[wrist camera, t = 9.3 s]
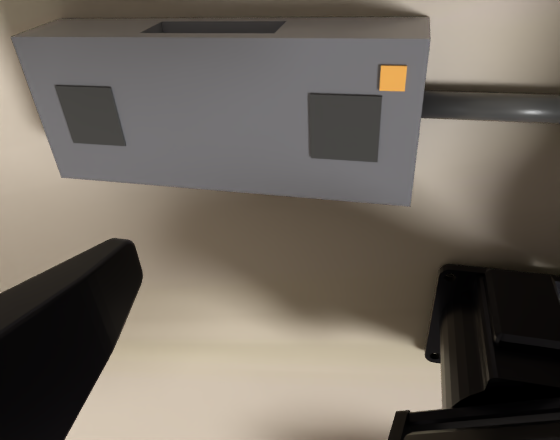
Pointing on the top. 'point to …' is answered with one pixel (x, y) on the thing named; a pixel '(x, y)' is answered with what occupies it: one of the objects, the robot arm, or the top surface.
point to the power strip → (248, 102)
